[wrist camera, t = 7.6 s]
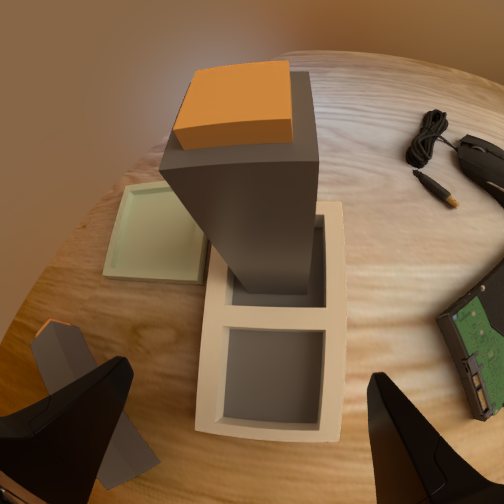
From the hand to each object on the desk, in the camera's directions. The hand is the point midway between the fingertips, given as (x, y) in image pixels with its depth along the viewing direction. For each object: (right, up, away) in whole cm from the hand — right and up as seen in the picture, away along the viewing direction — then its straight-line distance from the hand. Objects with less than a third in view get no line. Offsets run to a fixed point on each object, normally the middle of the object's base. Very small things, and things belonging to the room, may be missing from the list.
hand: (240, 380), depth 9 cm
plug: (+2, +3, +11) cm, 12 cm away
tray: (-7, +6, +14) cm, 17 cm away
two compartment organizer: (+2, 0, +10) cm, 11 cm away
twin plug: (-13, -9, +10) cm, 18 cm away
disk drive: (+23, -2, +7) cm, 24 cm away
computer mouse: (+23, +11, +12) cm, 28 cm away
